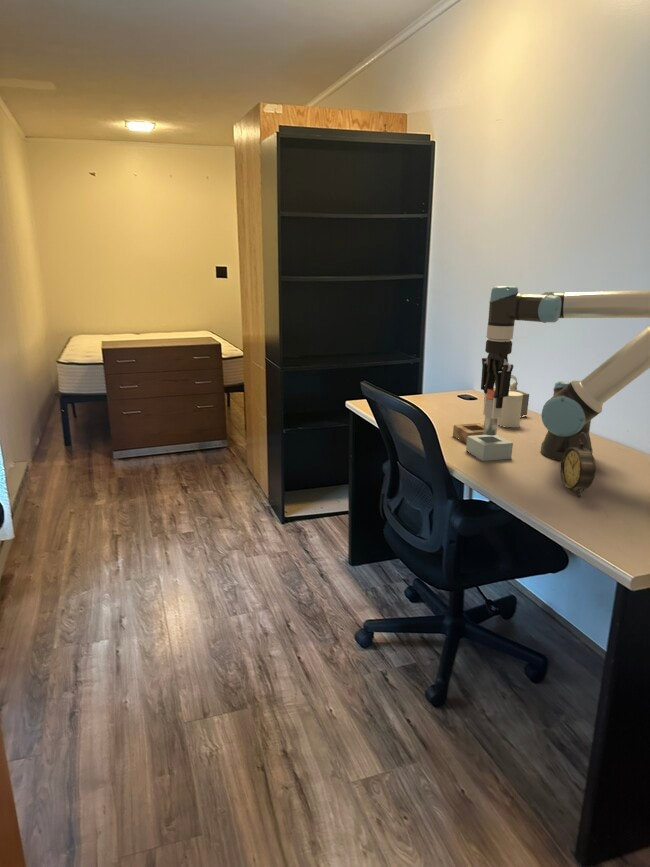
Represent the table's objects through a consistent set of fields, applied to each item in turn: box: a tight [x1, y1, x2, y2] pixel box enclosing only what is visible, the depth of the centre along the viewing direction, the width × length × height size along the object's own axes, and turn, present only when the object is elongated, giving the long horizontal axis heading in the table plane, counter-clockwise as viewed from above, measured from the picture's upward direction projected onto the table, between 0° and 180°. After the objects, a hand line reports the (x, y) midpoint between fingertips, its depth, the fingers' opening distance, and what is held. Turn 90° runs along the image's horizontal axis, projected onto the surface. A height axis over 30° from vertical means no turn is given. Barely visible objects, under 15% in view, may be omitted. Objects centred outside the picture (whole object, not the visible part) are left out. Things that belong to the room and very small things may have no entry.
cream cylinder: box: [497, 391, 523, 428], centre depth 217 cm, size 8×8×12 cm
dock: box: [465, 434, 514, 462], centre depth 184 cm, size 10×10×5 cm
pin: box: [483, 387, 498, 436], centre depth 181 cm, size 4×4×14 cm
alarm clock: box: [559, 432, 597, 498], centre depth 154 cm, size 11×5×16 cm, turn 3°
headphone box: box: [509, 389, 530, 416], centre depth 232 cm, size 8×12×9 cm
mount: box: [452, 422, 485, 445], centre depth 200 cm, size 10×10×4 cm
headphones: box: [509, 374, 519, 392], centre depth 228 cm, size 8×4×20 cm
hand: (491, 416), depth 182 cm, fingers closed on pin, 4 cm apart
